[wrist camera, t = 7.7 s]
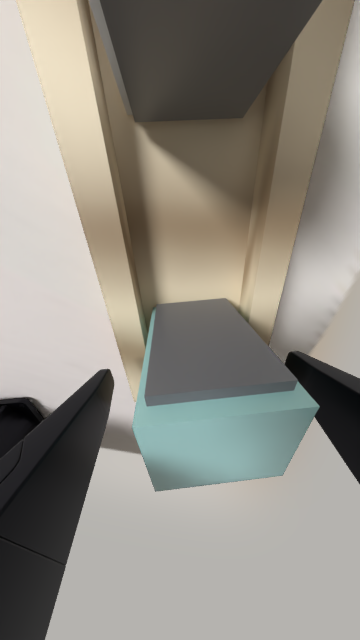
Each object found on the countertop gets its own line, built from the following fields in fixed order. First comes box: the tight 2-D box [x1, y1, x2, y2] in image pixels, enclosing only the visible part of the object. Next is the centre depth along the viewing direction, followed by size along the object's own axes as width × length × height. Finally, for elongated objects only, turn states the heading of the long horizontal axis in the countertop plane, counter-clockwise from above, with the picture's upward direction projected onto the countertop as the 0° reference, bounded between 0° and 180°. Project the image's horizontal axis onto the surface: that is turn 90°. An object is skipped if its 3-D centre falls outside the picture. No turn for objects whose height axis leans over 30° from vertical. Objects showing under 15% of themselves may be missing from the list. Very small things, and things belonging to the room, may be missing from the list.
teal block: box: [132, 298, 320, 491], centre depth 8 cm, size 4×5×7 cm
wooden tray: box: [16, 0, 355, 402], centre depth 8 cm, size 20×9×3 cm, turn 3°
